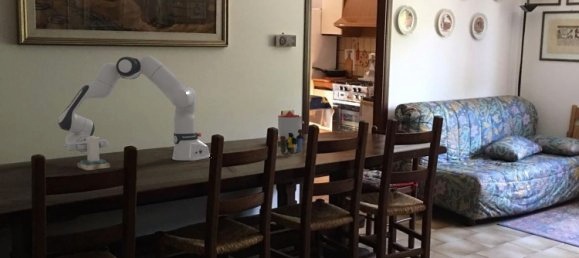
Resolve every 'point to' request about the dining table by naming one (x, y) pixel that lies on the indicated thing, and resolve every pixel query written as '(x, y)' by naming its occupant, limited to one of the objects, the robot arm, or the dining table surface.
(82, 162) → the birch base board
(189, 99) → the robot arm
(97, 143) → the cream pillar
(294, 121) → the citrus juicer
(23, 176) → the dining table surface
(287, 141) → the doll family
